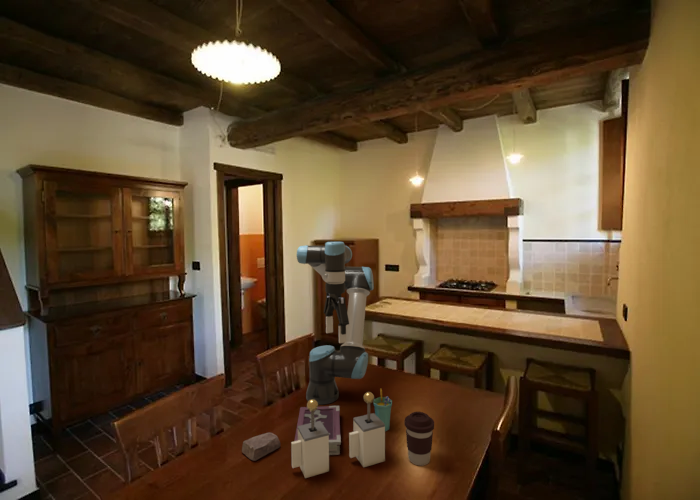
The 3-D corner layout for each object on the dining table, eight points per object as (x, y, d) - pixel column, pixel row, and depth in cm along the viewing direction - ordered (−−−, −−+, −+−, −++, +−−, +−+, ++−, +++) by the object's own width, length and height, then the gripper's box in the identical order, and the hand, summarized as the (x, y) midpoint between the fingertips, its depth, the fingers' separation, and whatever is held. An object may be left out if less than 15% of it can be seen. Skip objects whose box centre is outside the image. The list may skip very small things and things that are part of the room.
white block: (345, 455, 123) (345, 419, 122) (373, 447, 127) (373, 412, 127) (355, 470, 116) (354, 432, 115) (384, 460, 120) (384, 424, 119)
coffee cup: (428, 473, 114) (428, 427, 113) (399, 462, 119) (399, 419, 118) (438, 456, 122) (438, 413, 121) (411, 446, 128) (411, 406, 127)
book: (340, 455, 124) (340, 441, 123) (294, 457, 123) (293, 443, 123) (339, 417, 149) (339, 405, 149) (300, 418, 148) (300, 406, 148)
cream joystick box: (289, 465, 118) (288, 428, 117) (320, 456, 122) (320, 420, 122) (295, 481, 111) (294, 441, 110) (328, 471, 115) (328, 432, 114)
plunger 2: (360, 450, 123) (359, 390, 122) (371, 447, 125) (371, 388, 124) (365, 458, 119) (365, 396, 118) (378, 454, 121) (377, 394, 120)
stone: (268, 437, 134) (268, 425, 134) (282, 448, 128) (282, 435, 128) (239, 452, 125) (239, 439, 125) (254, 464, 119) (253, 450, 119)
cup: (399, 437, 133) (399, 398, 133) (380, 440, 131) (380, 401, 130) (386, 418, 147) (386, 382, 146) (368, 421, 145) (368, 385, 144)
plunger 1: (304, 460, 118) (303, 398, 117) (317, 456, 120) (316, 395, 119) (308, 468, 114) (307, 404, 113) (322, 464, 116) (321, 401, 115)
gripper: (315, 278, 145) (316, 330, 146) (338, 288, 122) (338, 348, 124) (332, 277, 148) (333, 327, 149) (358, 286, 125) (358, 345, 127)
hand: (335, 337), depth 136 cm, fingers open, 13 cm apart
